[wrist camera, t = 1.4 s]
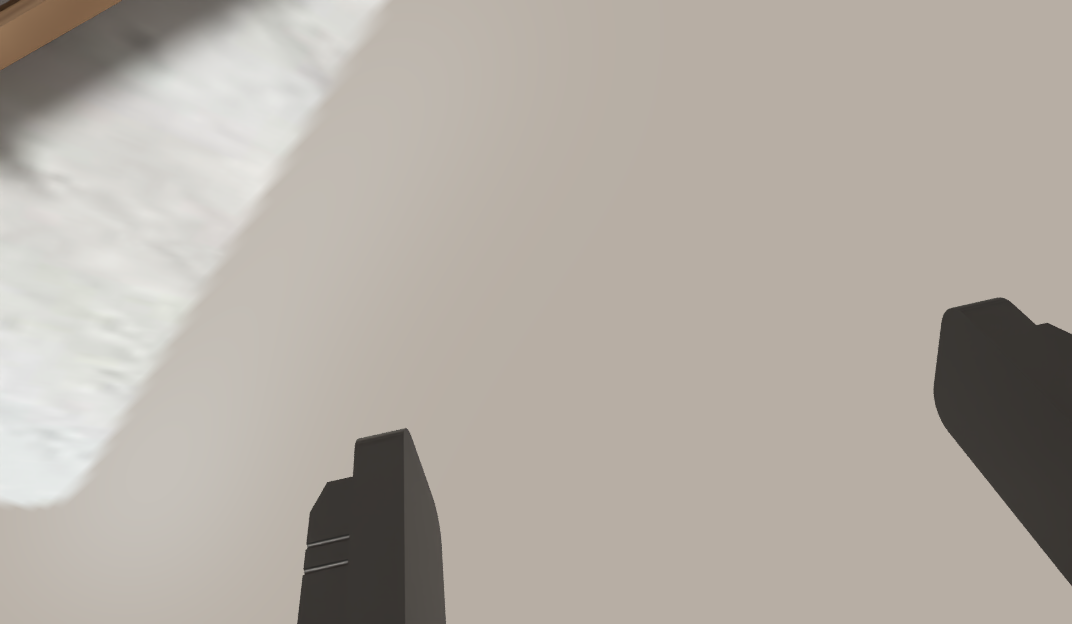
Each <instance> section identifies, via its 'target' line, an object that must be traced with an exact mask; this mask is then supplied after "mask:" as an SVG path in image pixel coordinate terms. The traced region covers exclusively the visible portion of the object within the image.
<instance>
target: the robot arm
mask: <svg viewBox="0 0 1072 624" xmlns="http://www.w3.org/2000/svg"><path fill="white" fill-rule="evenodd" d="M934 399H935V405H936V408H937V411H938V414H939V417H940V419H941V421H942V423H943V424H944V426H945V428H946V429H947V430H948V432H949V433H950V434H951V436H952V437H953V438H954V439H955V440H956V442H957V443H958V444H959V446H960V447H961V448H962V449H963V451H964V452H965V453H966V454H967V456H968V457H969V458H970V459H971V460H972V462H973V463H974V464H975V466H976V467H977V468H978V469H979V470H980V472H981V473H982V474H983V476H984V477H985V478H986V479H987V481H988V482H989V483H990V484H991V485H992V487H993V488H994V489H995V491H996V492H997V493H998V494H999V495H1000V497H1001V498H1002V499H1003V501H1004V502H1005V503H1006V504H1007V506H1008V507H1009V508H1010V509H1011V511H1012V512H1013V513H1014V514H1015V516H1016V517H1017V518H1018V519H1019V521H1020V522H1021V523H1022V524H1023V526H1024V527H1025V528H1026V529H1027V531H1028V532H1029V533H1030V534H1031V535H1032V537H1033V538H1034V539H1035V540H1036V542H1037V543H1038V544H1039V546H1040V547H1041V548H1042V549H1043V551H1044V552H1045V553H1046V554H1047V555H1048V557H1049V558H1050V559H1051V561H1052V562H1053V563H1054V564H1055V566H1056V567H1057V568H1058V569H1059V571H1060V572H1061V573H1062V574H1063V575H1064V577H1065V578H1066V579H1067V581H1068V582H1069V583H1070V584H1071V585H1072V334H1070V333H1068V332H1066V331H1064V330H1062V329H1059V328H1057V327H1055V326H1053V325H1051V324H1049V323H1045V324H1040V325H1035V324H1034V323H1033V322H1032V321H1031V320H1030V319H1029V318H1028V317H1027V316H1026V315H1024V314H1023V313H1022V312H1021V311H1020V310H1019V309H1018V308H1017V307H1016V306H1015V305H1013V304H1012V303H1011V302H1010V301H1009V300H1007V299H1005V298H994V299H990V300H985V301H981V302H976V303H972V304H968V305H963V306H958V307H954V308H951V309H948V310H947V311H946V312H945V313H944V315H943V318H942V323H941V331H940V339H939V347H938V355H937V364H936V373H935V381H934ZM354 453H355V454H354V470H353V477H349V478H344V479H340V480H336V481H331V482H327V484H326V486H325V487H324V489H323V491H322V492H321V494H320V496H319V498H318V500H317V501H316V503H315V505H314V506H313V508H312V510H311V512H310V517H309V527H308V535H307V547H308V548H307V550H306V552H305V561H304V573H305V575H303V578H302V588H301V596H300V604H299V613H298V623H297V624H446V617H445V599H444V581H443V563H442V544H441V534H440V526H439V521H438V516H437V511H436V507H435V503H434V500H433V497H432V494H431V491H430V488H429V486H428V482H427V480H426V477H425V474H424V471H423V468H422V466H421V462H420V460H419V457H418V454H417V452H416V448H415V445H414V443H413V440H412V437H411V435H410V433H409V431H408V429H407V428H405V429H400V430H396V431H391V432H387V433H382V434H378V435H373V436H369V437H364V438H360V439H357V441H356V443H355V452H354Z"/></svg>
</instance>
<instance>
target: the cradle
mask: <svg viewBox="0 0 1072 624" xmlns="http://www.w3.org/2000/svg"><path fill="white" fill-rule="evenodd" d="M120 1H122V0H0V70H2V69H4V68H5V67H7V66H9V65H11V64H12V63H14V62H16V61H18V60H19V59H21V58H23V57H25V56H26V55H28V54H30V53H31V52H33V51H35V50H37V49H38V48H40V47H42V46H44V45H45V44H47V43H49V42H51V41H52V40H54V39H56V38H58V37H59V36H61V35H63V34H65V33H66V32H68V31H70V30H71V29H73V28H75V27H77V26H78V25H80V24H82V23H84V22H85V21H87V20H89V19H91V18H92V17H94V16H96V15H98V14H99V13H101V12H103V11H105V10H106V9H108V8H110V7H112V6H113V5H115V4H117V3H118V2H120Z"/></svg>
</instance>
